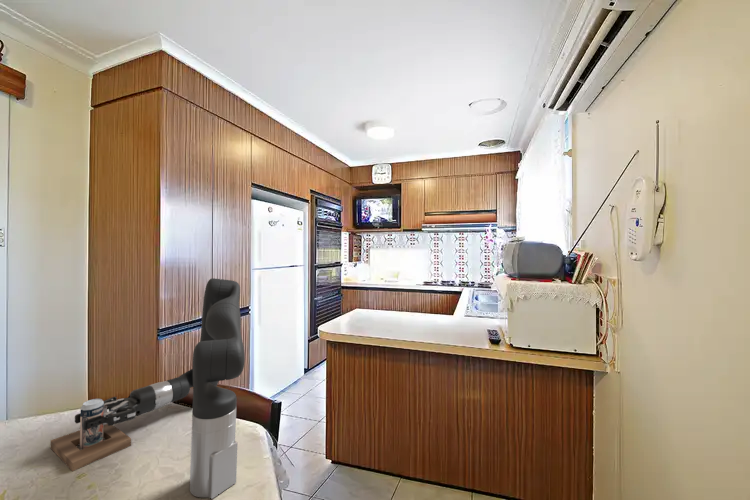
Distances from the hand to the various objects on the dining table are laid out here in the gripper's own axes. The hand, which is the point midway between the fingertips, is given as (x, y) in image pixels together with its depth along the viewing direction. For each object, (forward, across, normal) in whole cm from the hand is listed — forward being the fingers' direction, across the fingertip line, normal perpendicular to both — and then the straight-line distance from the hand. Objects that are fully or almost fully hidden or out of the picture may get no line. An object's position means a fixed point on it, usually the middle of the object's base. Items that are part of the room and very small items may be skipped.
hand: (79, 422), depth 83 cm
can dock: (-3, 0, +8) cm, 8 cm away
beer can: (-3, 0, +8) cm, 8 cm away
